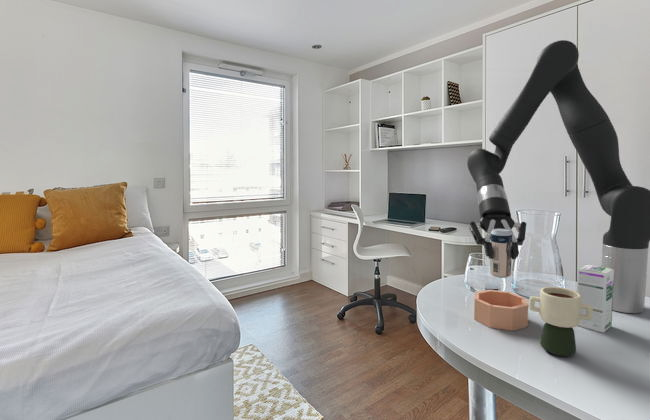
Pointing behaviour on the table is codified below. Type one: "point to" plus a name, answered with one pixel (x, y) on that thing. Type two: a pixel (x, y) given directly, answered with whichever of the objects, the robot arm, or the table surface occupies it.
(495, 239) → the beer can
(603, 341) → the table surface
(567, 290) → the character mug
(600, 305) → the syrup box
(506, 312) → the terracotta bowl
